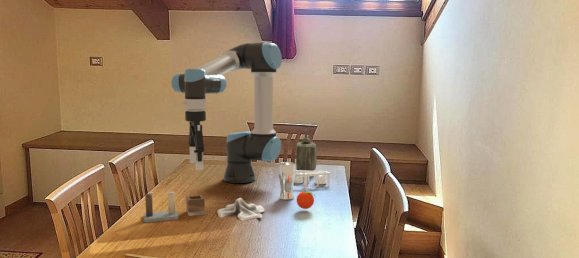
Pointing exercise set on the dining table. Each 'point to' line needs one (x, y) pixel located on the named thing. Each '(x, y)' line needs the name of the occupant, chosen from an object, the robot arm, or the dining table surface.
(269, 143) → the robot arm
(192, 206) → the brown open cube
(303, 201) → the clementine
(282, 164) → the beer glass
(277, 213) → the dining table surface
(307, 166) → the green square bottle
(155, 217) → the pin stand
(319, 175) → the clear divided organizer
